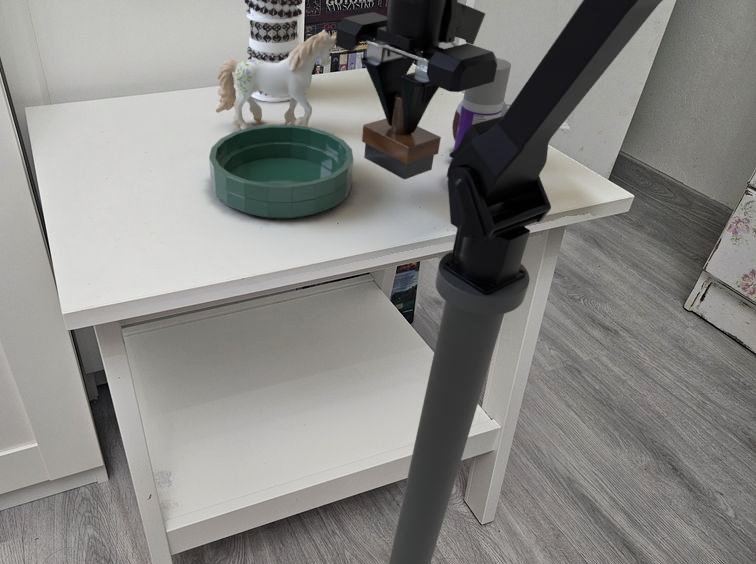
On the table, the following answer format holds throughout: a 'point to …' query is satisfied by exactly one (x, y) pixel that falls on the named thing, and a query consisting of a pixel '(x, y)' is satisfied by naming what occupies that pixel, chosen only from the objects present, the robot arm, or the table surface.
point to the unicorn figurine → (274, 80)
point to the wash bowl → (281, 170)
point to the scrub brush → (399, 145)
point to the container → (483, 101)
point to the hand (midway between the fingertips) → (401, 129)
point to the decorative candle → (272, 34)
